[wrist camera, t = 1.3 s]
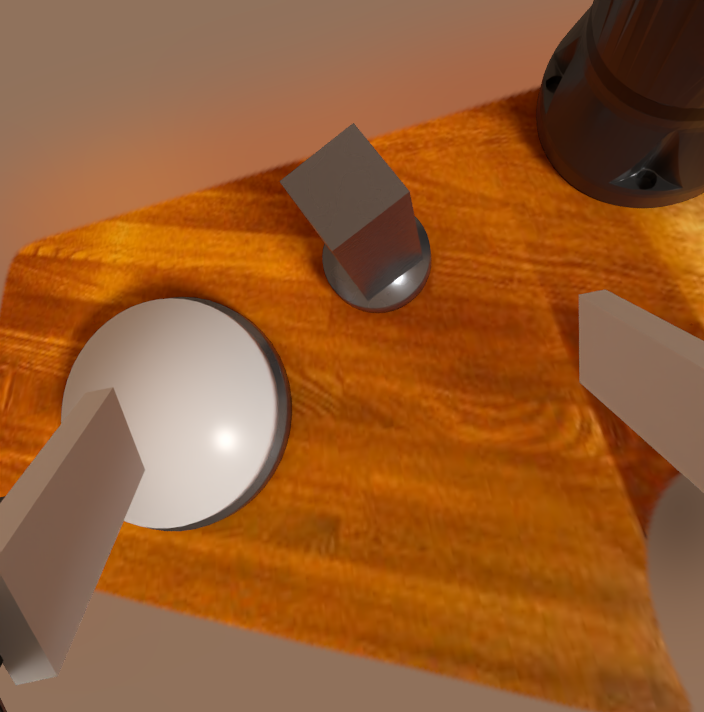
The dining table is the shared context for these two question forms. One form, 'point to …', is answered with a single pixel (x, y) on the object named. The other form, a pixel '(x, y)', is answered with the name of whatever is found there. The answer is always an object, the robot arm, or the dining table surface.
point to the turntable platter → (184, 405)
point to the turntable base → (283, 419)
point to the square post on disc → (362, 224)
